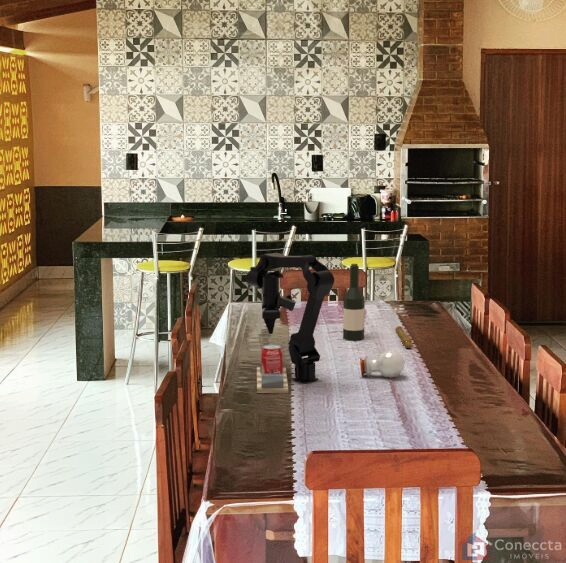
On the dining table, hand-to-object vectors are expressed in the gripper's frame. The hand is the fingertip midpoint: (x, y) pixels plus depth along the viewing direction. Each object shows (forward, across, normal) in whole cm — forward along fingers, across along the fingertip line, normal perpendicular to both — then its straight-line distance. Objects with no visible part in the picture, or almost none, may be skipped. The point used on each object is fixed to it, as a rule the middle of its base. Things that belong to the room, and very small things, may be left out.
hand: (271, 333), depth 345 cm
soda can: (+12, -21, 0) cm, 24 cm away
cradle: (+13, -15, 0) cm, 20 cm away
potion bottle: (+13, -10, -38) cm, 41 cm away
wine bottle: (+13, +47, -34) cm, 59 cm away
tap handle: (+14, +43, -53) cm, 70 cm away
